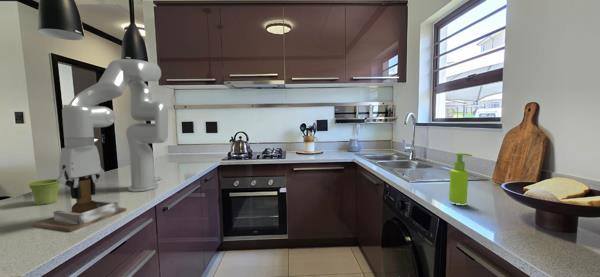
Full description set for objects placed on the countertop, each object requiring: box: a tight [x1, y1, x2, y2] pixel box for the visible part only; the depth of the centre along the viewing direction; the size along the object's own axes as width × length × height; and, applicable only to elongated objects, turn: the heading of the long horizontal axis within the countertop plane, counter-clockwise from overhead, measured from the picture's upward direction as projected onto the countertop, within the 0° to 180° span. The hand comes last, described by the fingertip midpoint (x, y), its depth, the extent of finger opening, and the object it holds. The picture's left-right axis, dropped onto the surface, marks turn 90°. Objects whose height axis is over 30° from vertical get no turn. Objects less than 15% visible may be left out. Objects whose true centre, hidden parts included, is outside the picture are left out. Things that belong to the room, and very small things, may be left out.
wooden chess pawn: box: [71, 176, 97, 214], centre depth 85 cm, size 7×6×18 cm
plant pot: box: [27, 178, 60, 206], centre depth 101 cm, size 9×9×9 cm
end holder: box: [33, 199, 127, 233], centre depth 86 cm, size 18×16×4 cm
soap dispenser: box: [448, 152, 473, 204], centre depth 98 cm, size 6×7×20 cm
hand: (83, 196), depth 85 cm, fingers closed on wooden chess pawn, 3 cm apart
